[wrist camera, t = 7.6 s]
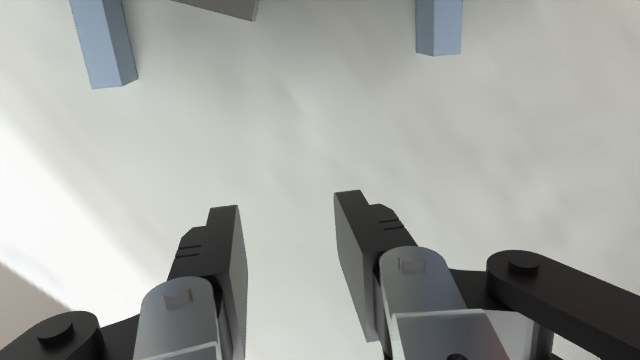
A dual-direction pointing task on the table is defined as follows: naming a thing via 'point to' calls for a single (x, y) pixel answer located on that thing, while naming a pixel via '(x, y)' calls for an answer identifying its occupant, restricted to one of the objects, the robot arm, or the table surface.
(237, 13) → the gray cube
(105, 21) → the track
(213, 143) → the table surface
